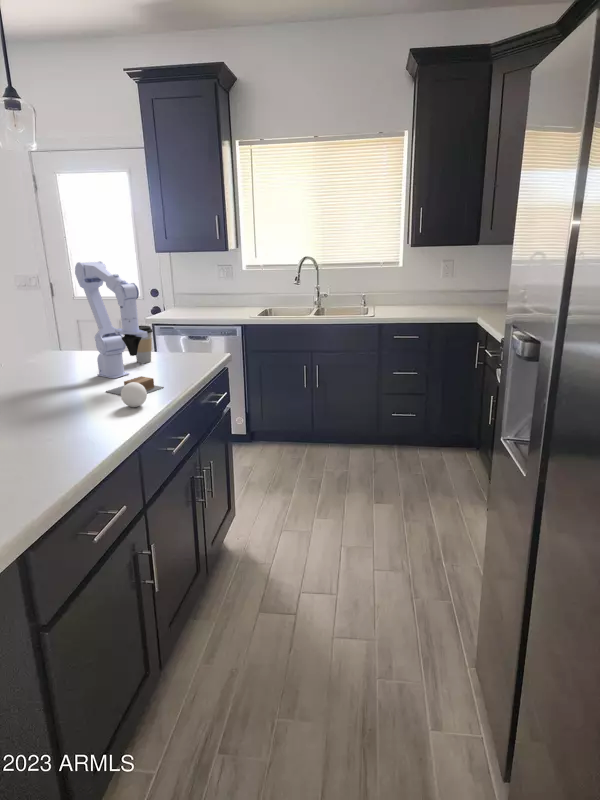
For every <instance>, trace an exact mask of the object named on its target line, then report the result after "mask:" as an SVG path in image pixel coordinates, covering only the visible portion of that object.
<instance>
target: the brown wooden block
mask: <svg viewBox="0 0 600 800" xmlns="http://www.w3.org/2000/svg"><path fill="white" fill-rule="evenodd" d="M131 382H136V383H139V384H141V385H143V386H144V388H145V389H146V391H147V390H150V389H153V388H154V385H155V383H154V382H155V381H154V378H153V377H148V376H138V377H134V378H131V379H128V380H125V381H123V386H125V385H126V384H128V383H131Z"/></svg>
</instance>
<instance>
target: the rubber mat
mask: <svg viewBox="0 0 600 800" xmlns="http://www.w3.org/2000/svg"><path fill="white" fill-rule="evenodd" d="M123 387H124V385H121V386H118V387H116V388H112V389H109V390H106V391H105V393H107V394H108V393H109V394H112V395H117V396H121V391H122V389H123ZM161 388H162V389H164V388H165V387H164V386H159V385H156V384H154V388H153V389H150V390H147V391H146V392H147V395H148V394H150V393H153V392H157V391H159V390H162V389H161Z"/></svg>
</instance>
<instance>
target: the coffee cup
mask: <svg viewBox="0 0 600 800" xmlns="http://www.w3.org/2000/svg"><path fill="white" fill-rule="evenodd" d="M139 330H142V331H146V332H147V334H148V337H145V338H141V340H140V342H139V345H138V350H137V355H135V359H136V362H137V363H138V364H148V363H150V362H151V363H152V349H153V348H152V347H153V344H152V343H153V342H152V339H153V338H152V332H153V329H152V328H151V326H150V325H139Z"/></svg>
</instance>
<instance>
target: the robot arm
mask: <svg viewBox="0 0 600 800" xmlns="http://www.w3.org/2000/svg"><path fill="white" fill-rule="evenodd" d="M74 274H75V277H76V280H77V283H78V285H79V287H80V288H81V289H83V292H84V293H85V294H84V295H85V297H86V299H87V302H88V304H89V307H90V310H91V312H92V315H93V318H94V320H95V323H96V325H97V328H98V331H97V333H95V336H94V340H95V348H96V351H98V352H99V353H98V356H97V361H96V362H97V367H98V373H97V374H96V376H97V377H103V378H107V379H108V378H109V379H117V378H120V377H124V376H128V375H130V372H126V371H125V366H124V358H123V353H124V352H125V351H124V350H126V349H127V351H128V353H129V356H131V357H136V355H137V350H138V345H139V342H140V340H141V338H145V337H148V334H147V332H146V331H142V330H139V326H140V325H139V313H138V305H137V304H138V303H137V300H138V299H139V296H140V295H139V294H140V292H139V288H138V286H137V285H136V283H134V282H131V283H128V282H127V281H126V280H125V279H123V278H122V277H121V276H119V274H116V273H115V274H114V273H113V274H112V273H111V272H110V271H109V270H108V269H107V266H106V264H105V263H104V262H103V261H88V262H81V261H80V262H76V264H75V266H74ZM104 283H105V286H106V288H107V289H109V291H112V292H113V294H114V295H115V298H116V300H117V305H118V306H119V311H120V320H121V321H120V322H121V327H122V328H121V327H120V328H117V327H115V326H113V324H112V321H111V318H110V316H109V313H108V311H107V308H106V305H105V303H104V300H103V298H102V294H101V292H100V289H99V288H100V287H101V286H103V284H104Z"/></svg>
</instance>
